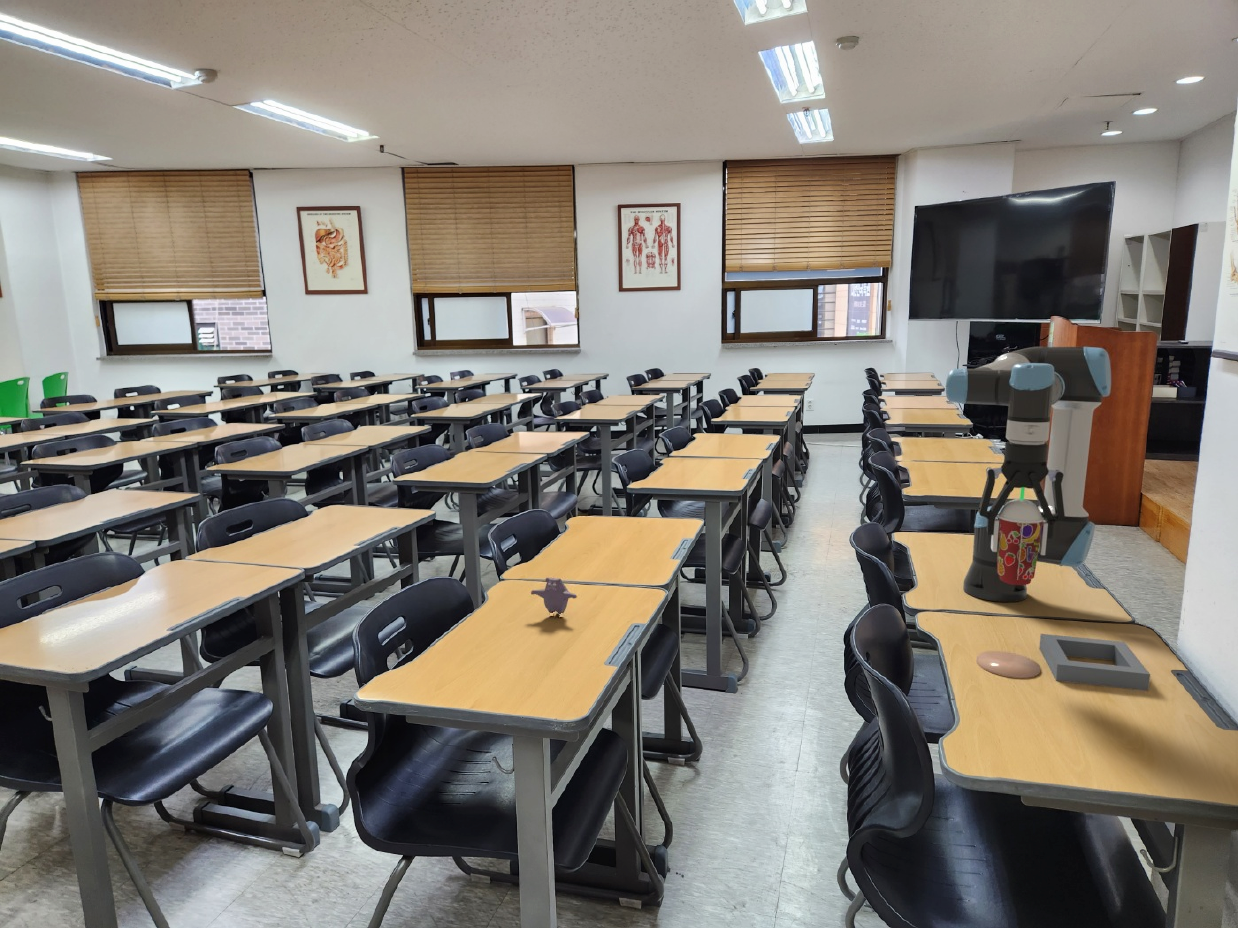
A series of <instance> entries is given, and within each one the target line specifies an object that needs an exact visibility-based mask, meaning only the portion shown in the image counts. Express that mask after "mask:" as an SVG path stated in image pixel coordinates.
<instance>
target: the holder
mask: <svg viewBox="0 0 1238 928" xmlns="http://www.w3.org/2000/svg"><path fill="white" fill-rule="evenodd" d="M1038 647H1039V651H1040V653H1041V654H1042V657H1043V659H1044V660H1045V662H1046V665H1047V666H1048V668H1049V670H1050V672H1051V674H1052V675H1053V678H1054V680H1055V681H1057V682H1064V683H1065V682H1066V683H1074V684H1084V685H1092V686H1101V687H1109V688H1119V689H1127V690H1128V689H1129V690H1136V691H1144V692H1145V691H1146V692H1149V687H1150V679H1151V673H1150V672H1149V670H1147V668H1146V667H1145V665H1144V664H1142V662H1141V660H1140V659H1139V658H1138V657H1137V656H1136V654H1135V653H1134V652H1133V650H1131V648H1130V647H1129V645H1128V644H1127V643H1126V642H1125V641H1120V640H1119V641H1118V640H1110V639H1109V640H1108V639H1102V638H1101V639H1098V638H1090V637H1089V638H1088V637H1079V636H1069V635H1057V634H1049V633H1048V634H1047V633H1040V639H1039V646H1038ZM1068 657H1072V658H1073V657H1075V658H1082V659H1083V658H1084V659H1092V660H1093V659H1094V660H1103V661H1104V660H1105V661H1112V662H1113V663H1114V664H1106V663H1105V664H1104V663H1094V662H1083V661H1077V660H1069V659H1068Z"/></svg>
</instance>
